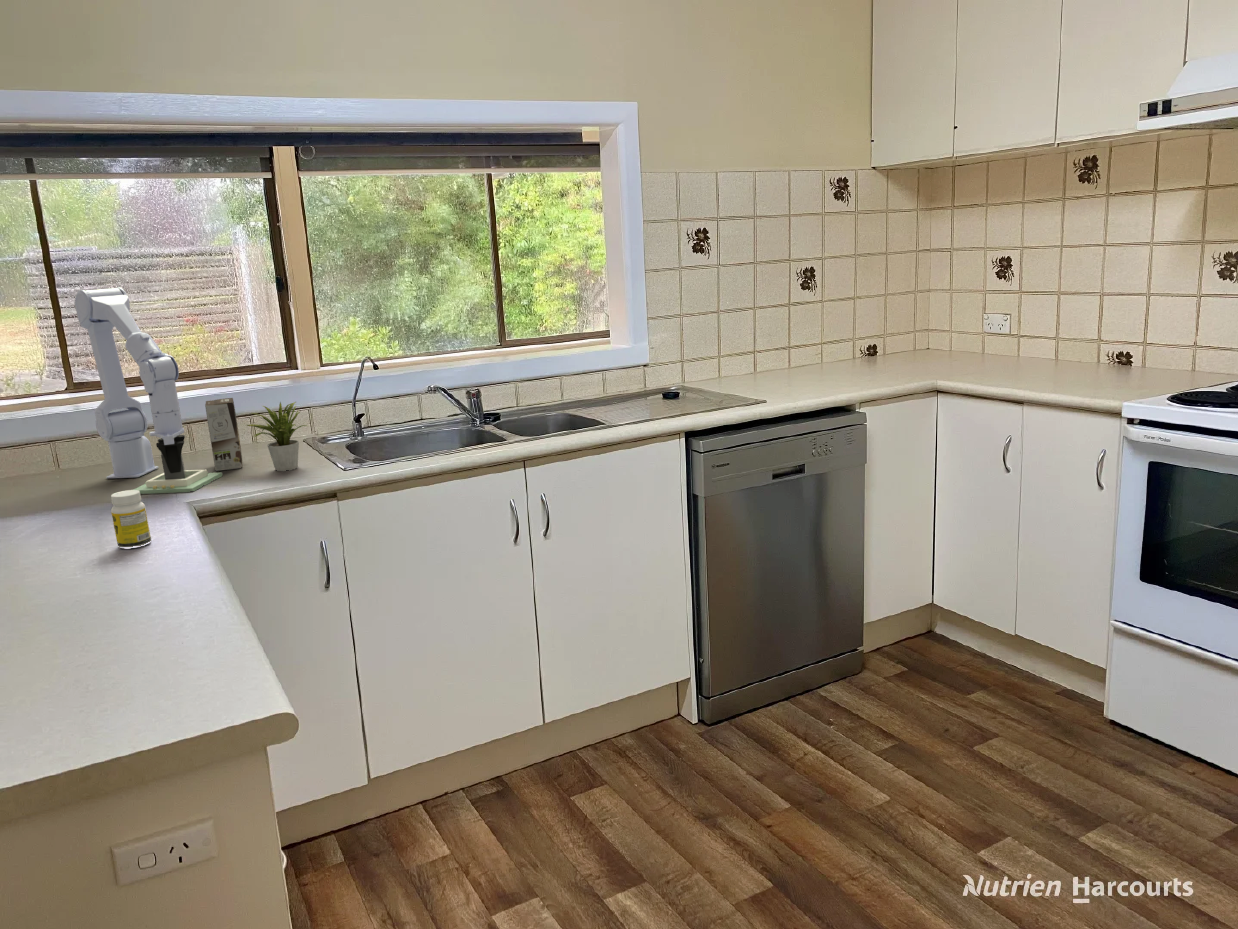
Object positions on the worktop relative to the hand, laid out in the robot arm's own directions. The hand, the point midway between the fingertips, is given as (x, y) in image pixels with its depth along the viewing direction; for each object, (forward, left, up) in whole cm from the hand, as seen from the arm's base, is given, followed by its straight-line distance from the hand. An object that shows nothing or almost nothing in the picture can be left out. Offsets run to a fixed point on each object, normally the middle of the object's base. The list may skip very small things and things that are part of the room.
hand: (175, 470), depth 213 cm
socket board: (0, 0, -3) cm, 3 cm away
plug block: (0, 0, -2) cm, 2 cm away
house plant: (-13, +20, -4) cm, 24 cm away
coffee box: (-17, +4, -4) cm, 18 cm away
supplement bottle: (+44, +15, -4) cm, 47 cm away
